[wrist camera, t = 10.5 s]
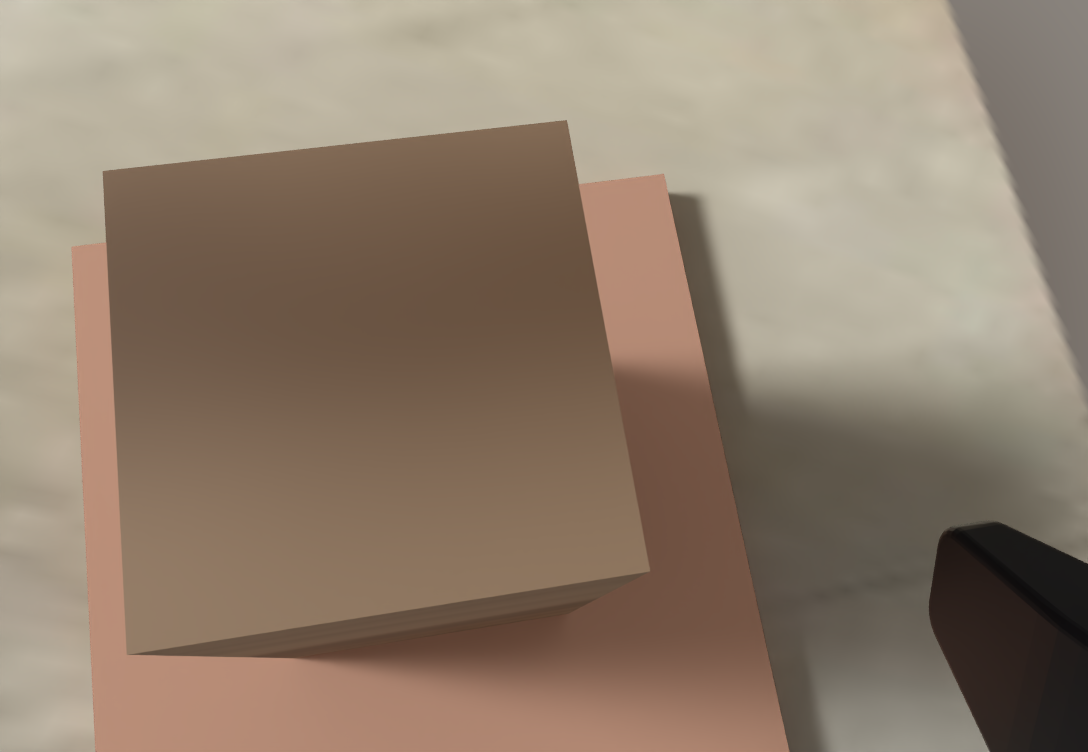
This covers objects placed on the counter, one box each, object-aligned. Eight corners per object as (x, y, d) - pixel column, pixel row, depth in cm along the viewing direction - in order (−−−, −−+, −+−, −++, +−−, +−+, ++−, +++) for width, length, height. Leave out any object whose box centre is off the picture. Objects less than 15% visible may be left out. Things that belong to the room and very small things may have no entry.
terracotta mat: (781, 773, 19) (795, 777, 18) (119, 900, 18) (102, 911, 17) (657, 191, 22) (664, 173, 21) (86, 262, 21) (71, 246, 20)
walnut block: (568, 613, 19) (650, 571, 10) (293, 658, 18) (127, 654, 9) (526, 355, 20) (566, 120, 11) (268, 390, 19) (103, 171, 11)
